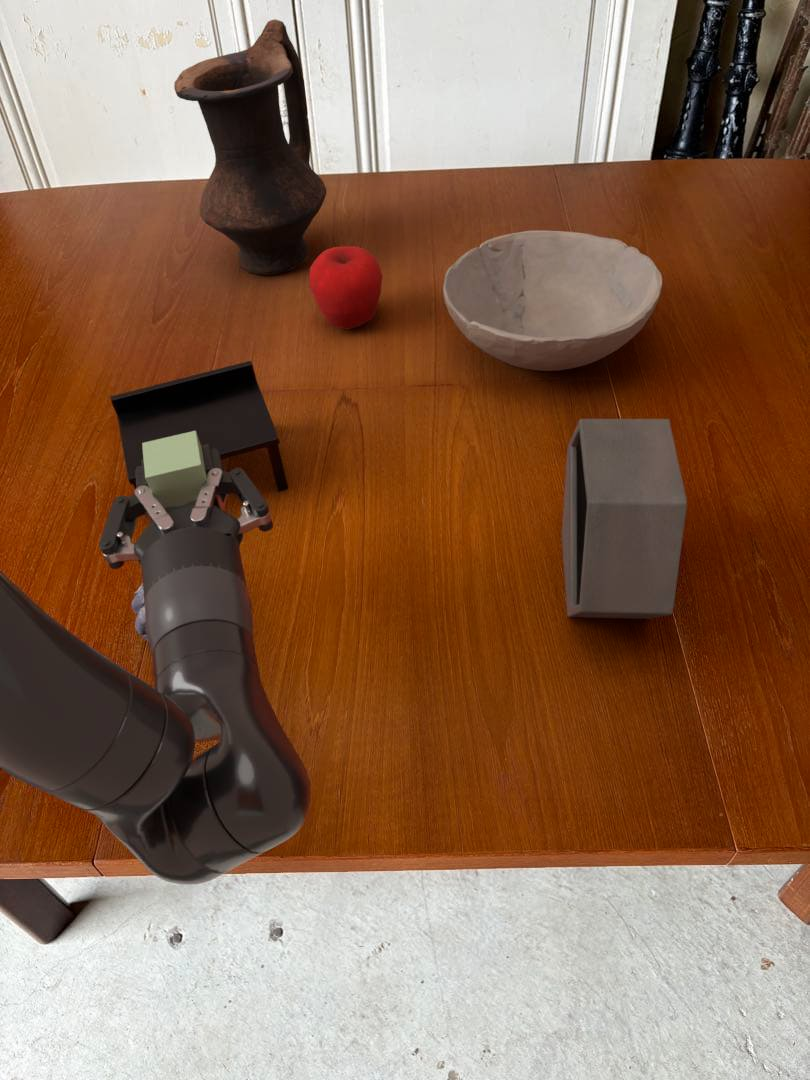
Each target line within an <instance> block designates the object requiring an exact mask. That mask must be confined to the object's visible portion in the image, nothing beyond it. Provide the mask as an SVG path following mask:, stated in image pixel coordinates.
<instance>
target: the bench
mask: <svg viewBox="0 0 810 1080" xmlns="http://www.w3.org/2000/svg"><path fill="white" fill-rule="evenodd" d="M109 399H110V402H111V404H112V407H113V409H114V411H115V414H116V419H117V425H118V430H119V434H120V439H121V447H122V452H123V457H124V464H125V469H126V475H127V481H128V482H129V485H131V486H132V485H133V488H134V491H135V490H136V475H135V470H136V468H137V467H138V466H142V462H141V460H143V447H142V443H144V442H149V441H153V440H157V439H162V438H166V437H170V436H174V435H179V434H183V433H187V432H192V431H196V433H197V435H198V438H199V441H200V444H201V446H203V445H207V444H209V445H210V448H211V449H214V448H216V449H217V450H218V451H219V453H220V457H221V460H222V461H223V460H225V459H229V458H233V457H237V456H240V455H245V454H248V453H251V452H255V451H258V450H259V451H260V450H262V449H266V450H267V451H266V452H267V454H268V455H267V456H268V458H269V459H268V460H269V464H270V466H271V471H272V474H273V478H274V482H275V486H276V488H277V491H278V492H284V491H286V490H289V484H288V480H287V476H286V472H285V467H284V464H283V459H282V455H281V451H280V446H279V445H280V444H281V442H280V438H279V435H278V432H277V430H276V427H275V425H274V422H273V420H272V417H271V414H270V411H269V409H268V406H267V404H266V401H265V398H264V395H263V394H262V391H261V388H260V385H259V383H258V380H257V378H256V372H255V369H254V365H253V362H252V360H248V361H244V362H240V363H236V364H232V365H228V366H224V367H220V368H216V369H212V370H208V371H205V372H200V373H197V374H193V375H188V376H185V377H180V378H177V379H173V380H170V381H165V382H162V383H158V384H153V385H150V386H146V387H141V388H138V389H134V390H131V391H125V392H123V393H118V394H113V395H111V396H110V397H109Z"/></svg>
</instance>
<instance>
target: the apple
mask: <svg viewBox="0 0 810 1080" xmlns="http://www.w3.org/2000/svg"><path fill="white" fill-rule="evenodd" d="M308 278H309V289H310V291H311V293H312V297H313V298H314V302H316V305H317V307H318V309H319V311H320V313H321V315H322V316H323V318H324V320H325V321H326V322H327V323H328V324H329V325H331V326H334V327H338V328H341V329H344V330H345V329H355V328H358V327H360V326H363V325H364V324H365V323H367V322H369V321H370V320H371V319H373V318H374V316H375V314H376V311H377V308H378V304H379V301H380V298H381V294H382V284H383V274H382V269H381V267H380V265H379V263H378V260H377V258H376V257H375V256H374V255H372V254H371V253H370V252H369V251H368V250H366V249H364V248H362V247H360V246H359V247H358V246H355V245H352V246H351V245H350V246H349V245H347V246H346V245H344V246H334V247H330V248H328V249H325V250H324V251H322V253H320V254H319V255H318V256H317V258H316V259H315V260H314V261H313V263H312V264H311V266H310V268H309V277H308Z"/></svg>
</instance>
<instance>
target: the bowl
mask: <svg viewBox="0 0 810 1080" xmlns="http://www.w3.org/2000/svg"><path fill="white" fill-rule="evenodd" d="M662 276H663V275H662V273H661V272H660V270H659V269H658V267H657V266H656V264H655V263H654V261H653V260H652V258H650V257H649V256H648V255H645V254H643V253H641V252H640V251H639V249H638V248H636V247H634V246H628V243H625V242H623V241H622V240H620V239H616V238H611V237H602V236H598V235H595V234H590V233H583V232H575V231H561V230H545V229H544V230H525V231H519V232H513V233H508V234H503V235H500V236H499V235H498V236H496V237H493V238H490V239H487V240H485V241H483V242H482V243H481V244H480V245H479V246H478V247H474V248H471V249H469V250H468V251H467V252H465V253H464V254H462V255H461V256H460V257H459V258H458V259H457V260H456V262H454V263H453V264H452V265H451V266H449V268H448V269H447V271H446V272H445V275H444V281H443V285H442V292H443V293H442V294H443V301H444V304H445V307H446V310H447V312H448V314H449V316H450V318H451V319H452V321H453V322H454V324H455V325H456V326H457V328H458V329H459V330H460V332H461V333H462V334H463V336H465V338H466V339H467V340H468V341H469V342H471V343H472V344H474V345H475V346H476V347H477V348H479V350H481V351H483V352H484V353H486V354H487V355H489V356H491V357H493V358H495V359H497V360H499V361H501V362H503V363H505V364H508V365H511V366H512V367H513V366H514V367H516V368H520V369H524V370H533V371H540V372H541V371H542V372H554V371H556V372H557V371H566V370H570V369H576V368H579V367H584V366H586V365H590V364H593V363H595V362H597V361H599V360H602V359H603V358H605V357H607V356H609V355H610V354H613V353H614V352H616V351H617V350H619V349H620V348H622V347H623V346H624V345H626V344H627V343H628V342H629V341H631V340H632V339H634V337H636V335H637V334H638V333H639V332H640V331H641V330H642V329H643V328H644V326H645V325H646V323H647V322H648V320H649V319H650V317H651V316H652V314H653V312H654V310H655V308H656V306H657V304H658V302H659V300H660V298H661V295H662V287H663V277H662Z"/></svg>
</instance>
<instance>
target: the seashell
mask: <svg viewBox="0 0 810 1080" xmlns="http://www.w3.org/2000/svg"><path fill="white" fill-rule="evenodd" d="M133 594H134V597H133V599H132V601H131V609H132V611H133V613H134V614H136V618H135V622H134V629H135V631H136V632H137V634H138V636H140V637H141V638H142V639H144V640H145V641H146V642H148V643H149V641H148V636H147V630H146V618H145V604H144V592H143V582H141V584H140V586H139V588H137V590H136V591H135V592H133Z"/></svg>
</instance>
